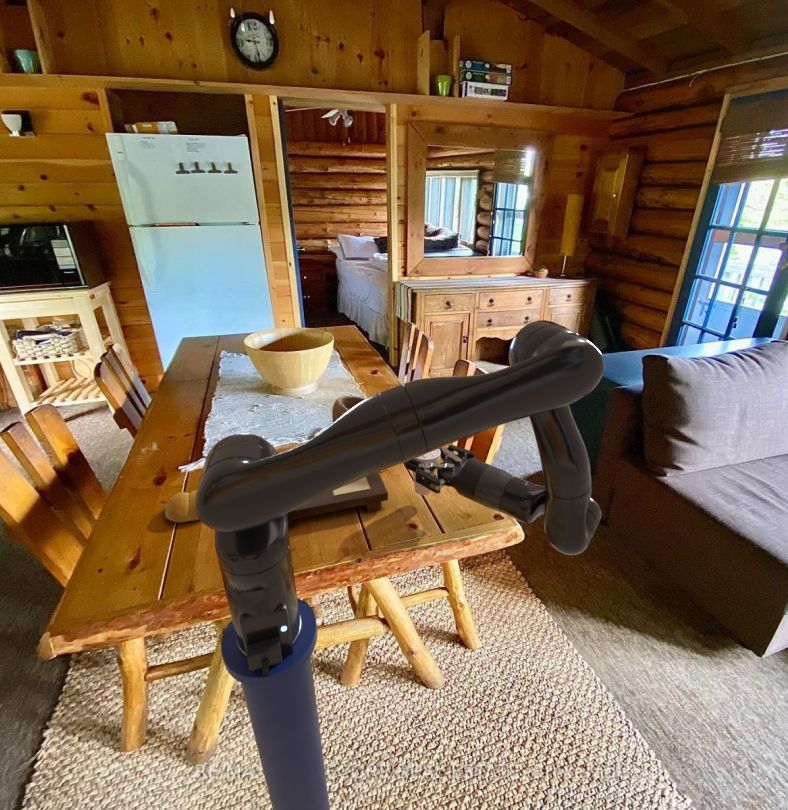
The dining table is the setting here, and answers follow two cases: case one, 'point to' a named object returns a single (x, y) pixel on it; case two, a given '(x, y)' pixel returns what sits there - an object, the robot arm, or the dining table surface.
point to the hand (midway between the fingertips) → (415, 454)
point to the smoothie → (425, 459)
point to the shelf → (346, 498)
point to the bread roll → (182, 507)
